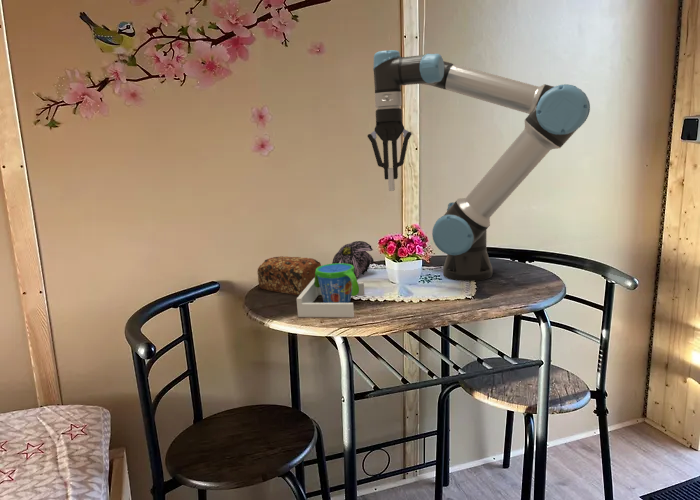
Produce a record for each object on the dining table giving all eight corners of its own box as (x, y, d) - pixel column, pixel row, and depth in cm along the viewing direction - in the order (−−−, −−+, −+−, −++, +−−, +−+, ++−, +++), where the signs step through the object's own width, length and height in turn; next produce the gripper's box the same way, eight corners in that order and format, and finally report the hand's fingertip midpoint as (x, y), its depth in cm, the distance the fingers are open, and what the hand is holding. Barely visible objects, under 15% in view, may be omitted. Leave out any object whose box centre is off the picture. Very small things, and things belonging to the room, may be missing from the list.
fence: (364, 293, 158) (363, 277, 157) (353, 317, 139) (352, 298, 138) (315, 294, 161) (314, 277, 160) (298, 317, 142) (296, 298, 141)
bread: (325, 288, 167) (322, 256, 164) (301, 298, 158) (298, 264, 156) (281, 280, 178) (279, 250, 176) (257, 289, 170) (254, 258, 168)
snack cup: (305, 301, 154) (302, 266, 152) (335, 293, 161) (333, 259, 159) (339, 314, 142) (336, 276, 140) (369, 304, 149) (367, 268, 147)
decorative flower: (317, 247, 178) (354, 228, 184) (323, 275, 185) (358, 255, 191) (343, 266, 168) (381, 245, 174) (348, 295, 174) (385, 273, 181)
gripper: (364, 109, 154) (368, 192, 159) (410, 106, 152) (413, 191, 157) (367, 109, 161) (371, 189, 166) (412, 107, 159) (414, 188, 164)
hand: (391, 190), depth 162 cm, fingers closed
